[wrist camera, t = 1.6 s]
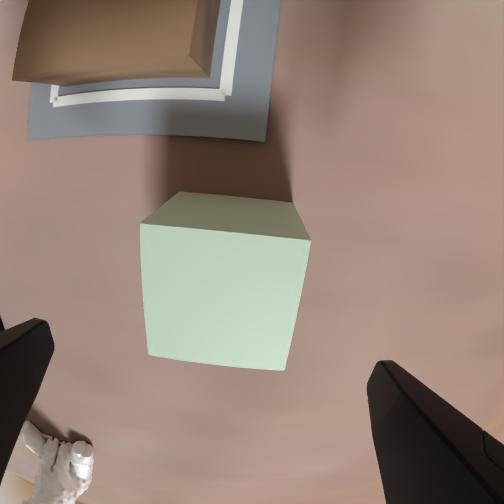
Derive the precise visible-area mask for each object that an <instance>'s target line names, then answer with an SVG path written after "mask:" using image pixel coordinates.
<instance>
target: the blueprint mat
mask: <svg viewBox="0 0 504 504" xmlns="http://www.w3.org/2000/svg"><path fill="white" fill-rule="evenodd" d="M280 3H281V0H221V2H220V8H219V15H218V21H217V28H216V35H215V42H214V49H213V57H212V65H211V73H210V78H150V79H131V80H118V81H107V82H97V83H89V84H81V85H74V86H67V87H65V86H58V85H51V84H43V83H34V82H32V83H31V92H30V102H29V115H28V135H27V140H36V139H46V138H58V137H73V136H92V135H182V136H203V137H218V138H231V139H242V140H253V141H262V142H265V138H266V129H267V120H268V111H269V102H270V93H271V84H272V75H273V66H274V57H275V48H276V39H277V30H278V21H279V12H280Z"/></svg>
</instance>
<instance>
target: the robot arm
mask: <svg viewBox="0 0 504 504" xmlns="http://www.w3.org/2000/svg"><path fill="white" fill-rule="evenodd" d="M53 352H54V341H53V338H52V334H51V331H50V327H49V324H48V323H47V321H45V320H42V319H38V318H33V319H31V320H28V321H26V322H24V323H21V324H19V325H16V326H14V327H11V328H9V329H7V330H3V327H2V325H1V322H0V485H1V482H2V479H3V476H4V473H5V470H6V467H7V464H8V462H9V459H10V456H11V454H12V451H13V449H14V446H15V444H16V441H17V439H18V436H19V434H20V431H21V429H22V427H23V424H24V422H25V420H26V418H27V415H28V413H29V411H30V409H31V407H32V404H33V402H34V400H35V398H36V396H37V394H38V391H39V389H40V386H41V383H42V381H43V378H44V375H45V373H46V370H47V367H48V365H49V362H50V360H51V357H52V355H53ZM367 396H368V404H369V411H370V420H371V429H372V436H373V441H374V446H375V451H376V455H377V460H378V464H379V469H380V474H381V479H382V484H383V489H384V494H385V499H386V504H504V445H503V444H502V443H501V442H499V441H498V440H496V439H495V438H494V437H492V436H491V435H490V434H488V433H487V432H486V431H485V430H483V431H482V428H481V427H479V426H478V425H477V424H475V423H474V422H473V421H471V420H470V419H469V418H467V417H466V416H465V415H463V414H462V413H461V412H460V411H458V410H457V409H456V408H454V407H453V406H452V405H450V404H449V403H448V402H446V401H445V400H444V399H443V398H441V397H440V396H439V395H437V394H436V393H435V392H433V391H432V390H431V389H429V388H428V387H427V386H425V385H424V384H423V383H422V382H420V381H419V380H418V379H416V378H415V377H414V376H412V375H411V374H410V373H408V372H407V371H406V370H405V369H403V368H402V367H401V366H399V365H398V364H397V363H395V362H394V361H392V360H380V361H378V362H377V363H376V365H375V367H374V369H373V372H372V374H371V376H370V378H369V380H368V383H367Z"/></svg>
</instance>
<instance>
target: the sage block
mask: <svg viewBox="0 0 504 504" xmlns="http://www.w3.org/2000/svg"><path fill="white" fill-rule="evenodd" d="M310 244H311V239H310V237H309V235H308V233H307V231H306V229H305V227H304V225H303V223H302V221H301V218H300V216H299V214H298V212H297V210H296V208H295V206H294V204H293V203H292V202H283V201H274V200H265V199H256V198H247V197H237V196H226V195H215V194H203V193H191V192H178V193H177V194H175V195H174V196H173V197H172V198H170V199H169V200H168V201H167V202H165V203H164V204H163V205H162V206H160V207H159V208H158V209H157V210H156V211H154V212H153V213H152V214H151V215H149V216H148V217H147V218H146V219H145V220H143V221H142V222H141V223H140V253H141V275H142V291H143V304H144V316H145V327H146V336H147V345H148V354H149V355H152V356H158V357H164V358H170V359H177V360H183V361H190V362H198V363H206V364H214V365H223V366H232V367H242V368H254V369H267V370H282V371H284V370H285V366H286V362H287V357H288V353H289V348H290V344H291V339H292V335H293V330H294V326H295V321H296V316H297V312H298V307H299V302H300V297H301V292H302V287H303V282H304V277H305V271H306V266H307V261H308V255H309V250H310Z"/></svg>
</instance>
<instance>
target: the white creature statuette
mask: <svg viewBox="0 0 504 504" xmlns="http://www.w3.org/2000/svg"><path fill="white" fill-rule="evenodd" d="M20 434H21V436H22V437H23V439H24V442H25V445H26V447H28V448H29V449H30V450H31V451H32V452H34V453H35V454H37V455H38V456H39V457H40V459H41V462H42V463H41V464H40V468H39V470H38V473H39V474H38V475H36V476H35V479H36V482H34V486H35V489H34V491H33V493H34V496H32V497H31V498H30V499H28V500H24V501H23V504H75V502H76V501H75V500H76V499H77V498H78V496H79V495H81V494H82V493H83V492H84V490H86V489H88V487H89V484H90V483H91V480H92V470H93V463H94V457H93V449H92V446H91V445H89V444H88V443H86V442H85V441H77V442H75V443H74V444H72V443H69V442H67V443H66V442H65V441H63V442H61V441H59V440H58V439H57V438H54V439H53V437H52V436H49V435H46V434H43V433H41V432H40V431H39V430H38V429H37V428H36V427H35V426H34V425H33V424H32V423H31V422H30V421H25V422H24V424H23V427H22V429H21V431H20ZM47 438H48V439H47ZM60 444H61V446H60Z"/></svg>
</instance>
